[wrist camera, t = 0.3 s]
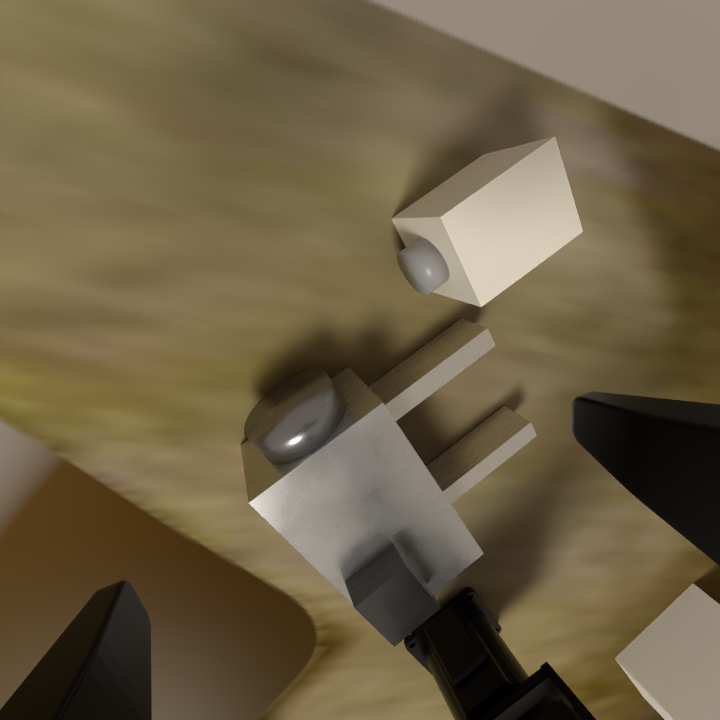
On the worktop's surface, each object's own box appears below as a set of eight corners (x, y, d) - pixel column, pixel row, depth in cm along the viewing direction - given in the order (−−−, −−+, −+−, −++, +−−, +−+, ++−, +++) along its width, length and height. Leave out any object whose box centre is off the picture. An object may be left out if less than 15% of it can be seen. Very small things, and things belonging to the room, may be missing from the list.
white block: (510, 230, 23) (583, 231, 19) (410, 303, 22) (460, 322, 18) (482, 154, 21) (554, 136, 17) (371, 231, 20) (416, 234, 16)
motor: (518, 436, 28) (599, 492, 22) (355, 566, 27) (395, 661, 21) (437, 268, 22) (517, 284, 16) (221, 423, 21) (225, 502, 15)
